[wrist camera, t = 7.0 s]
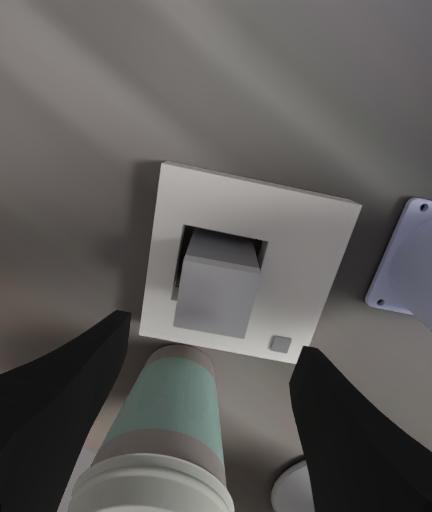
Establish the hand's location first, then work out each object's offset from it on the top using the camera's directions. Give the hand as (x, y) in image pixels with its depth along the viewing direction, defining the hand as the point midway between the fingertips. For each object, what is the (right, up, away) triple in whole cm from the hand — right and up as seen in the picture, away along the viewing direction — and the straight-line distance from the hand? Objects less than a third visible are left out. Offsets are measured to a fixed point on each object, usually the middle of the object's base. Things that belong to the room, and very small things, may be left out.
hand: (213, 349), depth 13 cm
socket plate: (+2, +3, +9) cm, 10 cm away
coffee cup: (-3, -6, +13) cm, 15 cm away
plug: (0, +4, +9) cm, 10 cm away
